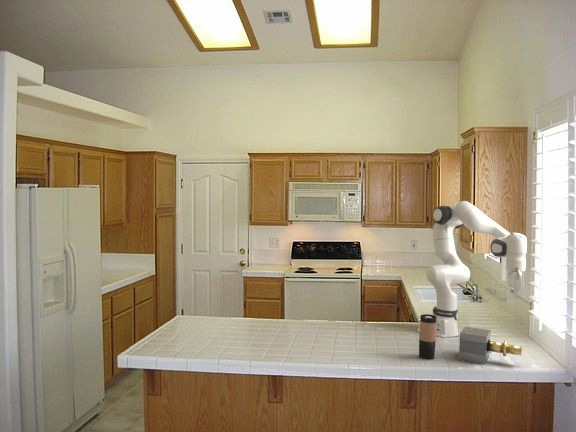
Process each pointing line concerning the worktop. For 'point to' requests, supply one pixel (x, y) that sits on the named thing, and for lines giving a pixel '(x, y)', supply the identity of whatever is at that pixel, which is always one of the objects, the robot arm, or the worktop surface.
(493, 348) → the brass collar peg
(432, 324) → the travel mug
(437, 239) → the robot arm
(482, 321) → the worktop surface
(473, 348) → the housing
